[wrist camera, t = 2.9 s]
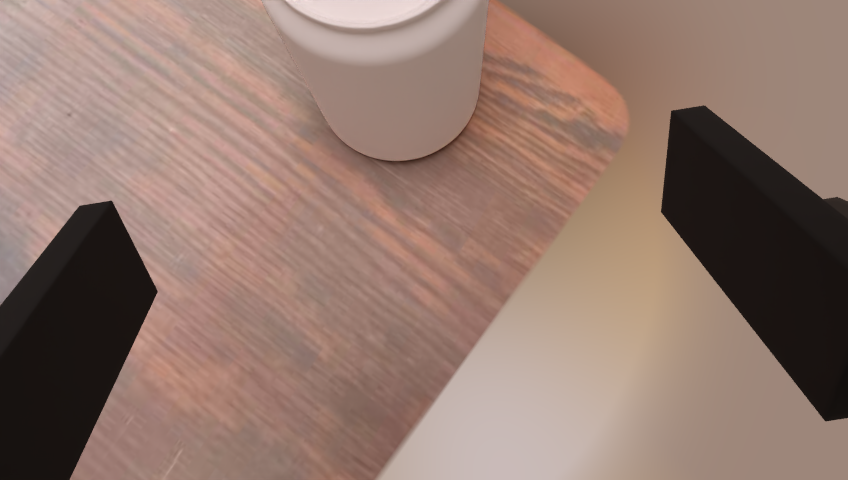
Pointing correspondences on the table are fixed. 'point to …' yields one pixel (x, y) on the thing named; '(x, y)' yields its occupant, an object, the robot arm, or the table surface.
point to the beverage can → (388, 68)
